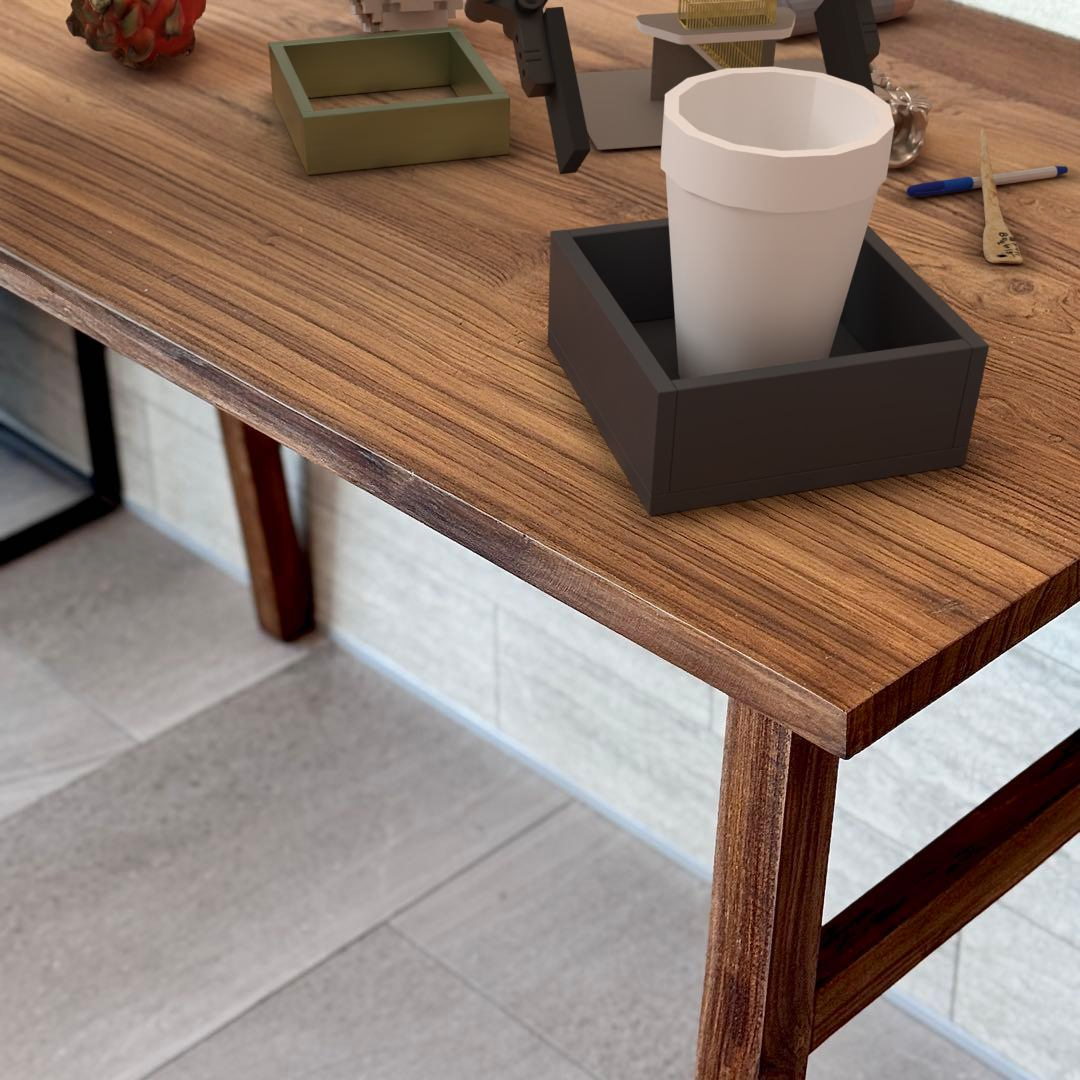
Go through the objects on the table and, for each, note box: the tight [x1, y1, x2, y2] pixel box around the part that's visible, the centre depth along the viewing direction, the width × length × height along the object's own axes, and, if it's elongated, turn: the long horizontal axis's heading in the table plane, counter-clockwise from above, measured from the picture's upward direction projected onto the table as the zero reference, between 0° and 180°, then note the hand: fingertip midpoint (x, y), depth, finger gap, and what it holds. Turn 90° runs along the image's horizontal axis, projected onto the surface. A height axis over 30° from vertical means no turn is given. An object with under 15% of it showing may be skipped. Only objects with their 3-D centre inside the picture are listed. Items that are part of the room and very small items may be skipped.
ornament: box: [869, 60, 933, 169], centre depth 99 cm, size 8×7×4 cm
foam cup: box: [660, 67, 894, 379], centre depth 72 cm, size 10×9×13 cm
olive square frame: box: [267, 25, 511, 176], centre depth 100 cm, size 12×12×4 cm
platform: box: [576, 0, 827, 151], centre depth 103 cm, size 12×18×7 cm, turn 102°
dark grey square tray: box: [547, 217, 990, 517], centre depth 75 cm, size 15×15×6 cm
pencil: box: [776, 0, 915, 42], centre depth 115 cm, size 11×3×3 cm, turn 118°
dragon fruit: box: [64, 0, 207, 71], centre depth 107 cm, size 8×8×12 cm
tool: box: [979, 127, 1024, 264], centre depth 93 cm, size 14×1×2 cm
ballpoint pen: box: [906, 165, 1069, 198], centre depth 96 cm, size 10×1×1 cm
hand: (721, 148), depth 74 cm, fingers open, 13 cm apart
